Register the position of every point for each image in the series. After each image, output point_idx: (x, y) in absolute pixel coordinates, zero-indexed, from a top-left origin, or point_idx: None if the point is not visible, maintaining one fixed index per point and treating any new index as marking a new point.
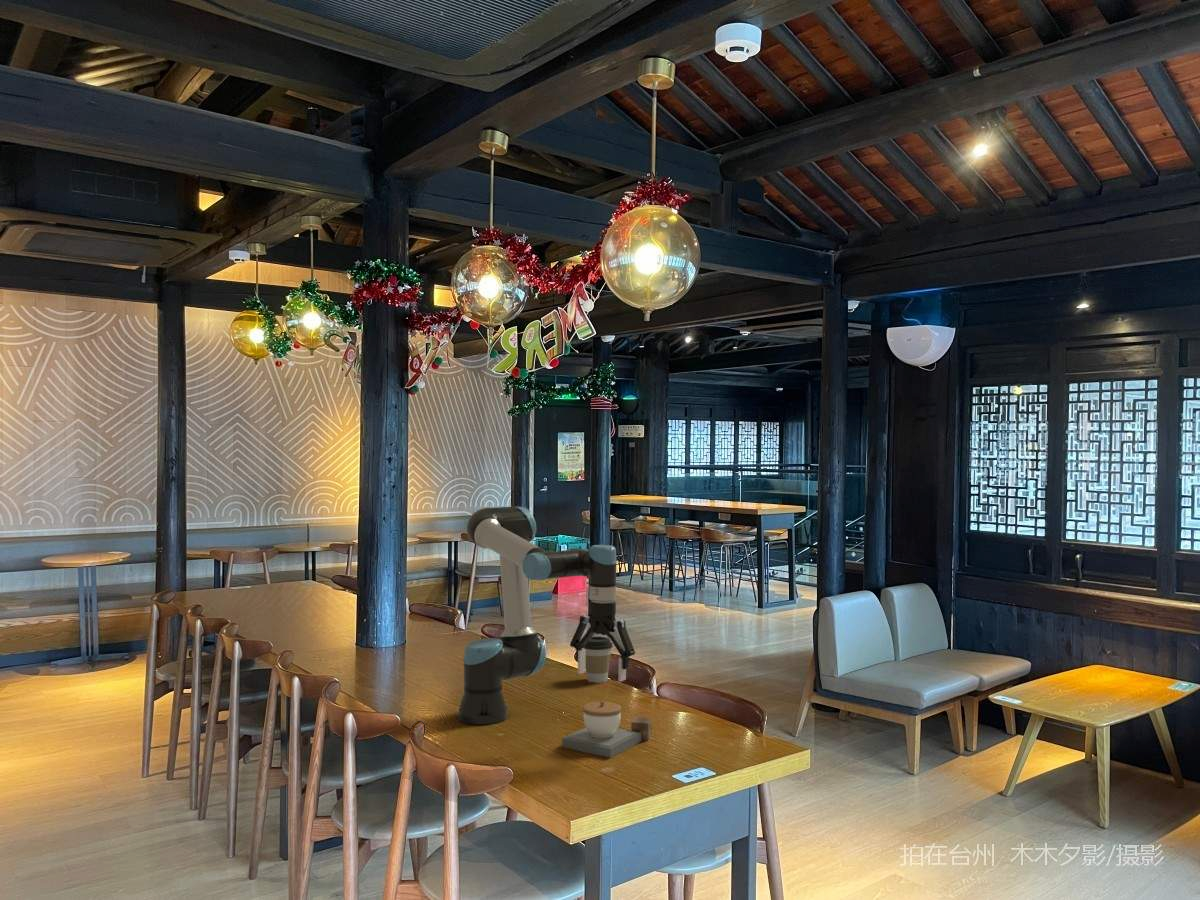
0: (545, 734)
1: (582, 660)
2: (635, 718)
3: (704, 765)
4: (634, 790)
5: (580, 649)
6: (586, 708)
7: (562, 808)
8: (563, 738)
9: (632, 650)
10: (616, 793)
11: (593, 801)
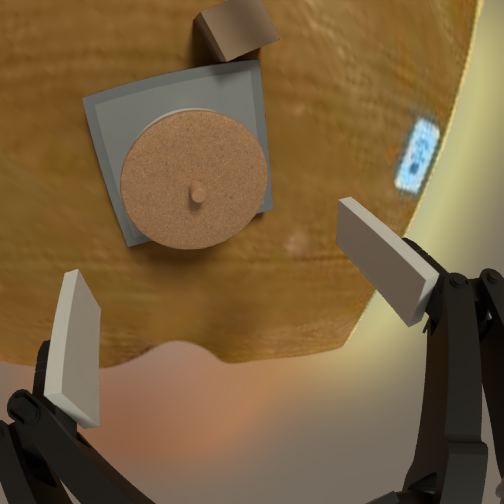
0: (31, 214)
1: (87, 352)
2: (213, 23)
3: (419, 109)
4: None
5: (70, 420)
6: (172, 242)
7: (319, 347)
8: (132, 245)
9: (499, 295)
10: (353, 286)
11: (339, 317)
